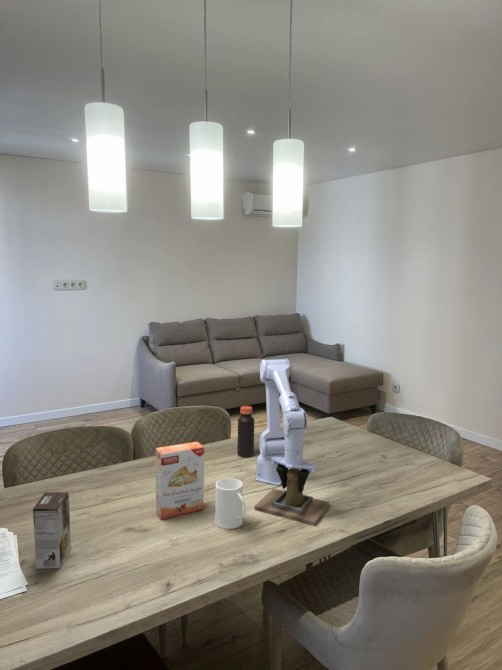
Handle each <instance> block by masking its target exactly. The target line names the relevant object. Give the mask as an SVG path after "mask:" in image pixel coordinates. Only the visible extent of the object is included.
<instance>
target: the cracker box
mask: <svg viewBox="0 0 502 670" xmlns="http://www.w3.org/2000/svg"><path fill="white" fill-rule="evenodd" d="M204 482H205V447H204V446H203V444H201V443H200V442H199V441H193V442H187V443H180V444H174V445H173V444H172V445H167V446H160V447H156V448H155V511H156V514H158V517H159V518H160V519H161V520H163V519H168V518H172V517H177V516H180V515H184V514H190V513H194V512H198V511H203V510H204V494H205V493H204V489H205V488H204V485H205V483H204Z"/></svg>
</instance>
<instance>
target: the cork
mask: <svg viewBox="0 0 502 670" xmlns="http://www.w3.org/2000/svg"><path fill="white" fill-rule="evenodd" d="M300 471H301V469H296V468H288V471H287V473H286V477H287V487H286V499H285V504H286V505H288V506H292V507H299V506H302V505H303V504H304V499H303V495H304V491H302V493H300V492H299V476H298V473H299V472H300Z"/></svg>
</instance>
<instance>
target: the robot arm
mask: <svg viewBox="0 0 502 670" xmlns="http://www.w3.org/2000/svg"><path fill="white" fill-rule="evenodd" d="M291 367H292V366H291V362H290V361H289V359H288V358H284V359H283V358H281V359H262V360H261V361H260V365H259V377H260V382H261V383H263V384H264V385H265V397H266V401H265V403H266V423H267V427H266V429H265V430H264V431H263V432H262V433H261V434H260V436H259V442H258V443H259V444H258V445H259V447H258V448H259V453H260V454H259V455H258V456H257V459H256V478H255V481H258V482H263V483H266V484H270V485H275V486H280V485H281V487H282V489H283V490H285V489H287V484H288V479H287V477H286V473H287V471H288V470H289V469H291V468H296V469H300V470H301V471H300V472H299V473H298V476H299V492H300V493H302V492H304V488H305V485H306V482H307V480H308V477H309V475H310V474H316V472H317V464H313V463H310V462H309V461H308V462H307V460H306V461H305V460H304V434H305V433H304V432H305V431H304V430H305V429H306V428H307V426H308V417H307V413H306V411H305V410H304V409H303V407H301V406H300V404H299V401H298V398H297V395H296V393H295V392H293V391H292V389H291V384H290V380H289V378H290V375H291ZM280 410H281V411H282V414H283V415H282V423H283V430H282V429H281V411H280Z"/></svg>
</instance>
